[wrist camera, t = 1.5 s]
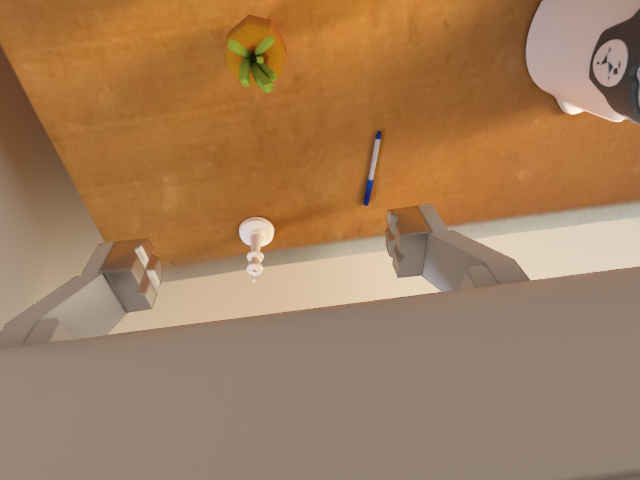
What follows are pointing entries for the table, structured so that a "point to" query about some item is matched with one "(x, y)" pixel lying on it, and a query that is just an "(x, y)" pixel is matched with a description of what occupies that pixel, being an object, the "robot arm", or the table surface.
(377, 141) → the ballpoint pen
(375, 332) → the robot arm
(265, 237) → the chess piece
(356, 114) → the table surface
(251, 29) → the carrot
